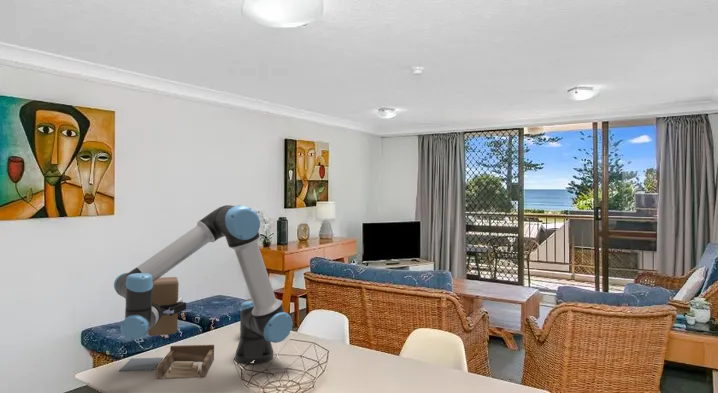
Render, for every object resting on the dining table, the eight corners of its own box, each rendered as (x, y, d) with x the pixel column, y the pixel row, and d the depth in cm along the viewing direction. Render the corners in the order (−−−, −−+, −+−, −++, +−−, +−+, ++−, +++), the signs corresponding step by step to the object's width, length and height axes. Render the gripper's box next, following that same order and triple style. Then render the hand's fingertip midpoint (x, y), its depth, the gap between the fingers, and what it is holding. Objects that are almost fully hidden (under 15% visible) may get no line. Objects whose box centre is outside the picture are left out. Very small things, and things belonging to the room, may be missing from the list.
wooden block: (148, 329, 173) (149, 277, 173) (176, 327, 177) (177, 276, 177) (147, 336, 164) (149, 282, 164) (177, 334, 168) (178, 280, 168)
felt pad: (131, 359, 177) (131, 358, 177) (162, 358, 179) (162, 357, 179) (119, 371, 165) (119, 369, 165) (153, 370, 167) (153, 368, 167)
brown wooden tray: (170, 361, 177) (171, 345, 177) (213, 359, 179) (214, 344, 179) (157, 378, 159) (157, 361, 159) (205, 377, 161) (205, 360, 162)
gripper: (109, 328, 149) (131, 312, 170) (184, 326, 152) (196, 310, 174) (109, 305, 149) (131, 292, 170) (185, 304, 153) (197, 291, 174)
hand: (164, 301), depth 172 cm, fingers closed on wooden block, 11 cm apart
